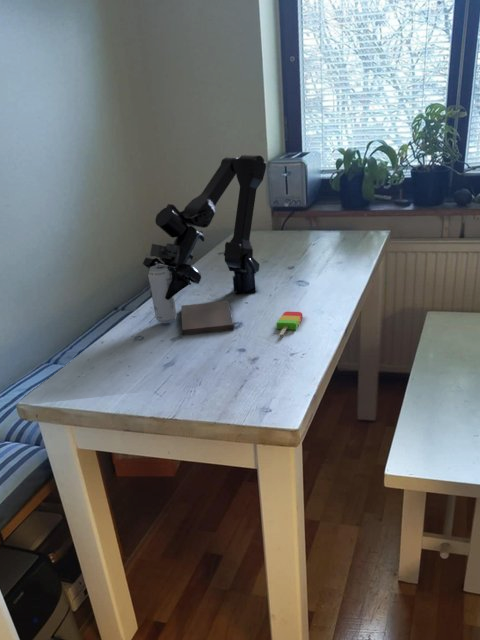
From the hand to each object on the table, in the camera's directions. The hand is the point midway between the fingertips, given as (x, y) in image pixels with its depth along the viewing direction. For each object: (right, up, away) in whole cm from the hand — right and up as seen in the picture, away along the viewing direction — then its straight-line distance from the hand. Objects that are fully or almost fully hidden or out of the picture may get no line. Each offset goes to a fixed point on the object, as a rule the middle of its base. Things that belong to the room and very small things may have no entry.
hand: (159, 297), depth 168 cm
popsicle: (+36, -9, -4) cm, 37 cm away
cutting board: (+13, -5, +5) cm, 15 cm away
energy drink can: (+1, -5, +5) cm, 7 cm away
